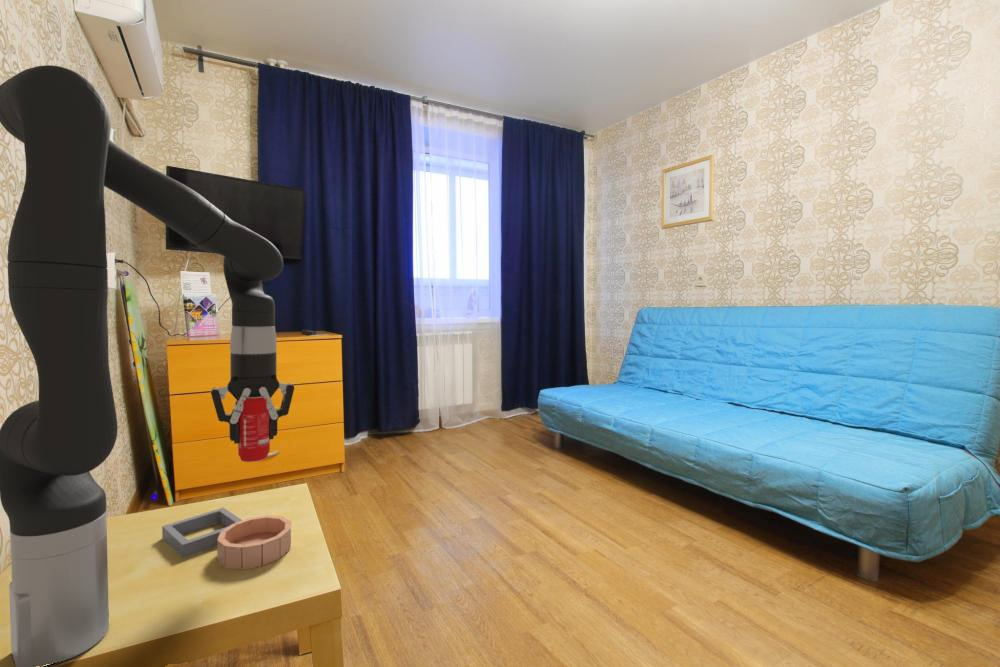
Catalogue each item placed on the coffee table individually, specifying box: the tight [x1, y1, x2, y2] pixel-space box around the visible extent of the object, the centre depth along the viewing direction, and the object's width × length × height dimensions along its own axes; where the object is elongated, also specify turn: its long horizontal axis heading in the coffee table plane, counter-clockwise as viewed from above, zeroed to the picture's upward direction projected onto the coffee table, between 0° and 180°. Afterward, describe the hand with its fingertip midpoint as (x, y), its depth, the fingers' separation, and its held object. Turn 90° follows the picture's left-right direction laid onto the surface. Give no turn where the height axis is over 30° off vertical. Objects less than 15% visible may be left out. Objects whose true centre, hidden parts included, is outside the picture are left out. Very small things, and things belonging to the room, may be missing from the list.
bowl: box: [216, 514, 292, 570], centre depth 85 cm, size 12×12×4 cm
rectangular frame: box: [161, 507, 242, 559], centre depth 89 cm, size 11×11×2 cm
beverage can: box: [237, 396, 271, 463], centre depth 84 cm, size 5×5×12 cm
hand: (254, 440), depth 84 cm, fingers closed on beverage can, 5 cm apart
